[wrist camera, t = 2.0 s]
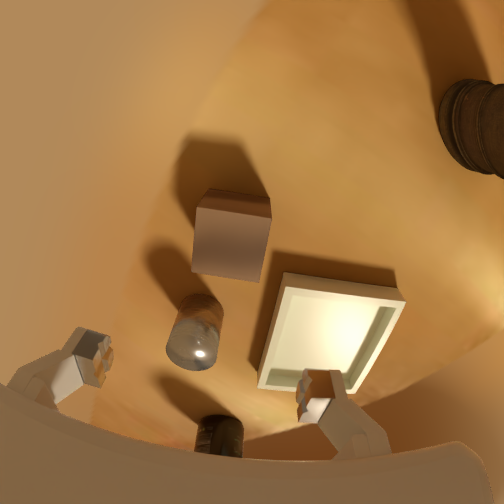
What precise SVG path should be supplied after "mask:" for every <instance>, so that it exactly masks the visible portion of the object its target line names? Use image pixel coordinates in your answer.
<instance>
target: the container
mask: <svg viewBox="0 0 504 504" xmlns="http://www.w3.org/2000/svg"><path fill="white" fill-rule="evenodd" d="M439 126H440V132H441V135H442V138H443V141H444V144H445V146H446V148H447V149H448V151H449V153H450V154H451V156H452V157H453V158H454V159H455V160H456V161H457V162H458V163H459V164H460V165H462V166H463V167H465V168H466V169H469V170H471V171H475V172H480V173H482V174H487V175H491V174H496V175H497V176H498V177H500V178H502V179H504V84H497V85H494V84H492V83H490V82H488V81H483V80H474V79H466V80H462V81H459V82H457V83H456V84H454V85H453V86H452V87H451V88H450V89H449V90H448V91H447V93H446V94H445V96H444V98H443V100H442V103H441V106H440V111H439Z"/></svg>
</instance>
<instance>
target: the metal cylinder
mask: <svg viewBox="0 0 504 504" xmlns="http://www.w3.org/2000/svg"><path fill="white" fill-rule="evenodd" d="M223 316H224V312H223V308H222V306H221V304H220V303H219V302H218V301H217V300H216V299H214V298H213V297H211V296H209V295H205V294H193V295H190V296H188V297H186V298H185V299H184V300H183V302H182V304H181V306H180V309H179V312H178V314H177V317H176V320H175V323H174V325H173V328H172V331H171V334H170V337H169V339H168V342H167V345H166V353H167V355H168V357H169V358H170V360H171V361H172V362H173V363H175V364H176V365H178V366H179V367H181V368H184V369H187V370H192V371H201V370H206V369H208V368H210V367H212V366H213V365H214V363H215V362H216V358H217V352H218V346H219V340H220V334H221V328H222V322H223Z"/></svg>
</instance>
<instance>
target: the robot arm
mask: <svg viewBox="0 0 504 504" xmlns="http://www.w3.org/2000/svg"><path fill="white" fill-rule="evenodd" d="M110 344H111V339H110V336H108V335H105V334H101V333H98V332H95V331H92V330H88V329H85V328H82V327H78V328H76V329H75V331H74V332H73V334H72V335H71V337H70V338H69V339H68V341H67V342H66V344H65V345H64V347H63V348H62V350H56V351H54V352H52V353H50V354H48V355H46V356H44V357H41V358H39V359H37V360H35V361H33V362H31V363H29V364H26V365H24V366H22V367H20V368H19V369H18V370H17V371H16V373H15V374H14V376H13V377H12V379H11V380H10V382H9V383H8V385H7V386H4V385H2V384H1V383H0V504H494V500H493V495H492V491H491V487H490V483H489V480H488V477H487V473H486V470H485V467H484V464H483V462H482V460H481V458H480V457H479V456H478V455H477V454H476V453H475V452H474V451H472V450H471V449H470V448H469V447H467V446H466V445H464V444H463V443H461V442H459V441H453V442H449V443H445V444H440V445H436V446H432V447H428V448H423V449H418V450H413V451H408V452H402V453H396V454H392V452H391V448H390V445H389V441H388V438H387V434H386V431H385V430H384V429H382V428H381V427H380V426H379V425H378V424H377V423H376V422H375V421H374V420H373V419H372V418H370V417H369V416H368V415H367V414H366V413H365V412H364V411H363V410H362V409H361V408H360V407H359V406H358V405H357V404H356V403H355V402H354V401H353V400H352V399H348V397H347V393H346V389H345V385H344V381H343V378H342V374H341V371H340V370H330V369H328V370H327V369H312V368H305V369H304V370H303V373H302V379H301V380H299V382H298V385H297V389H296V402H297V403H298V404H299V407H298V409H297V415H298V422H303V423H318V425H319V427H320V428H321V430H322V431H323V432H324V434H325V435H326V436H327V438H328V439H329V440H330V441H331V443H332V444H333V445H334V447H335V448H336V449H337V451H338V454H337V455H336V456H335V457H334V458H333V459H332V460H321V461H282V460H281V461H279V460H261V459H246V458H237V457H228V456H219V455H212V454H205V453H199V452H193V451H187V450H182V449H177V448H172V447H167V446H163V445H158V444H154V443H150V442H146V441H142V440H138V439H134V438H131V437H127V436H124V435H120V434H117V433H114V432H111V431H108V430H104V429H101V428H98V427H96V426H93V425H90V424H87V423H84V422H82V421H79V420H76V419H74V418H71V417H68V416H66V415H64V414H61V413H60V411H59V409H58V408H57V406H56V404H57V403H58V402H60V401H61V400H62V399H64V398H65V397H66V396H68V395H70V394H71V393H72V392H74V391H75V390H76V389H78V388H79V387H81V386H82V385H84V383H85V384H88V385H91V386H94V387H98V388H101V387H102V385H103V383H104V381H105V379H106V375H105V372H107V371H109V370H110V368H111V366H112V363H113V349H112V348H111V347H110Z"/></svg>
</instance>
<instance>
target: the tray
mask: <svg viewBox="0 0 504 504" xmlns="http://www.w3.org/2000/svg"><path fill="white" fill-rule="evenodd" d="M405 303H406V301H405V299H404V297H403V296H402V294H401V293H400V291H399V290H398V288H392V287H385V286H378V285H370V284H363V283H356V282H349V281H342V280H335V279H328V278H321V277H315V276H308V275H301V274H294V273H288V272H284V273H283V277H282V281H281V285H280V289H279V293H278V297H277V301H276V305H275V309H274V312H273V316H272V320H271V324H270V328H269V331H268V335H267V339H266V343H265V346H264V350H263V354H262V357H261V361H260V365H259V368H258V372H257V388H260V389H270V390H281V391H294V392H296V389H297V385H298V382H299V380H301V379H302V373H303V370H304V369H305V368H312V369H327V370H328V369H330V370H340V371H341V374H342V378H343V381H344V385H345V389H346V393H347V394H355V392H356V391H357V389H358V388H359V386H360V385H361V383H362V382H363V380H364V378H365V377H366V375H367V373H368V372H369V370H370V368H371V367H372V365H373V363H374V362H375V360H376V358H377V357H378V355H379V353H380V351H381V350H382V348H383V346H384V344H385V342H386V341H387V339H388V337H389V335H390V333H391V331H392V329H393V327H394V325H395V324H396V322H397V320H398V318H399V316H400V314H401V312H402V310H403V308H404V306H405Z"/></svg>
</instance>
